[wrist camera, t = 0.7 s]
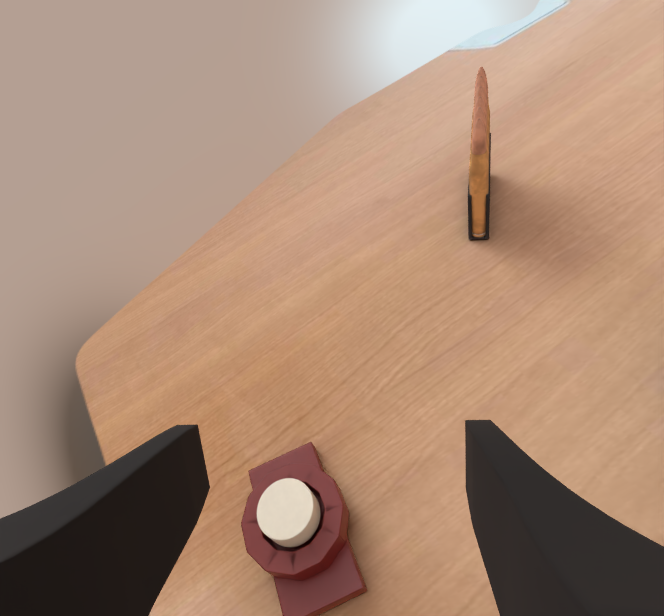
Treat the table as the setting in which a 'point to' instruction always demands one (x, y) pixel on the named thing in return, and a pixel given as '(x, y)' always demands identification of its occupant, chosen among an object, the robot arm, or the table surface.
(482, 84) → the ammunition clip
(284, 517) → the button
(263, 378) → the table surface
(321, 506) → the block
